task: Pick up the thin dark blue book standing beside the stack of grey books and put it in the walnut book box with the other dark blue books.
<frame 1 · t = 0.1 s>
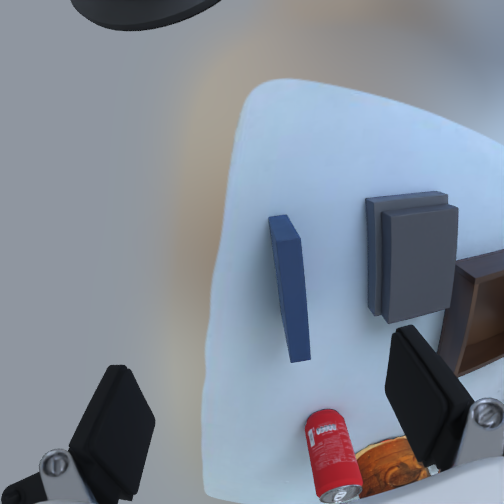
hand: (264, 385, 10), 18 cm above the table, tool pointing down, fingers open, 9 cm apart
vessel: (384, 454, 40), on the table
grey books: (404, 250, 27), on the table
blue book: (284, 269, 28), on the table
book box: (493, 298, 30), on the table
beverage can: (322, 418, 35), on the table
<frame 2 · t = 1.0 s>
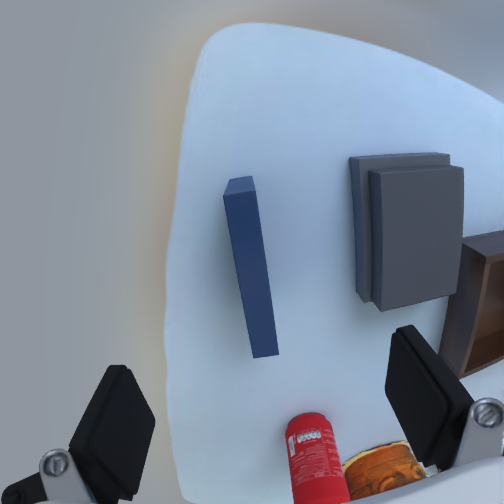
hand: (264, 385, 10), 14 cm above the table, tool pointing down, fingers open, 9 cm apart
vessel: (379, 460, 35), on the table
grey books: (399, 222, 23), on the table
blue book: (251, 243, 23), on the table
book box: (503, 285, 25), on the table
beverage can: (306, 423, 31), on the table
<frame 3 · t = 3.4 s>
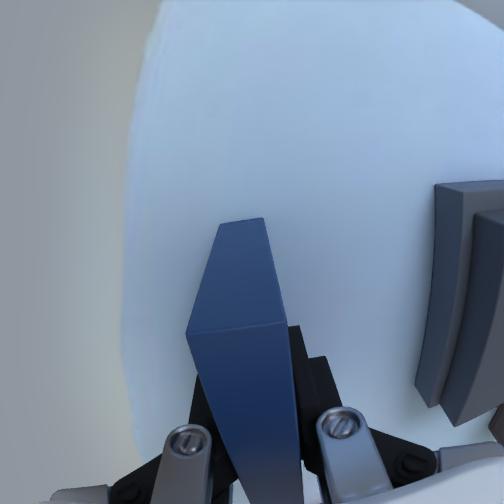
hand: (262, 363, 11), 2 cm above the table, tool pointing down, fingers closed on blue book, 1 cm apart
grey books: (487, 285, 12), on the table
blue book: (260, 335, 13), on the table, touching gripper
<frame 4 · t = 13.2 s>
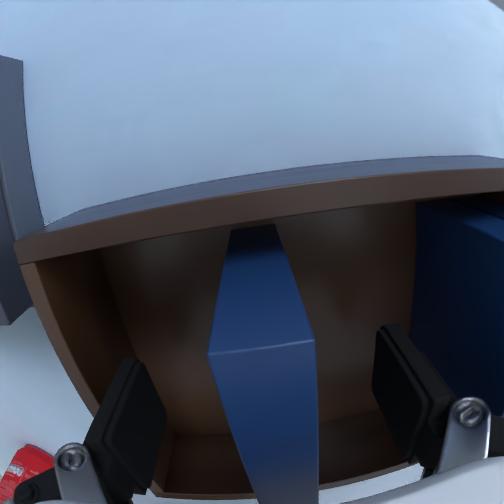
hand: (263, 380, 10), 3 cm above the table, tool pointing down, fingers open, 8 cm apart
blue book: (271, 343, 12), point 1 cm above the table, touching book box
book box: (314, 326, 13), on the table
blue books: (482, 346, 9), in the book box, point 4 cm above the table
beverage can: (45, 458, 18), on the table
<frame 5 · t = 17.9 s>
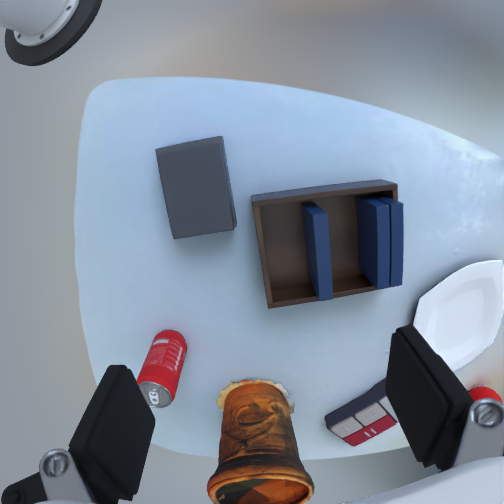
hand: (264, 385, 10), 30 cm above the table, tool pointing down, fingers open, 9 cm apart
vessel: (256, 400, 50), on the table
grey books: (197, 185, 37), on the table
tomato: (468, 396, 54), on the table
blue book: (311, 240, 39), point 1 cm above the table, touching book box
book box: (324, 236, 40), on the table
plate: (457, 318, 45), on the table
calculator: (368, 407, 52), on the table
blue books: (379, 239, 36), in the book box, point 4 cm above the table
beverage can: (171, 340, 45), on the table
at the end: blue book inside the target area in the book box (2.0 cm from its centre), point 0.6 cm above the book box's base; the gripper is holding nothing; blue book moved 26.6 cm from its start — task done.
